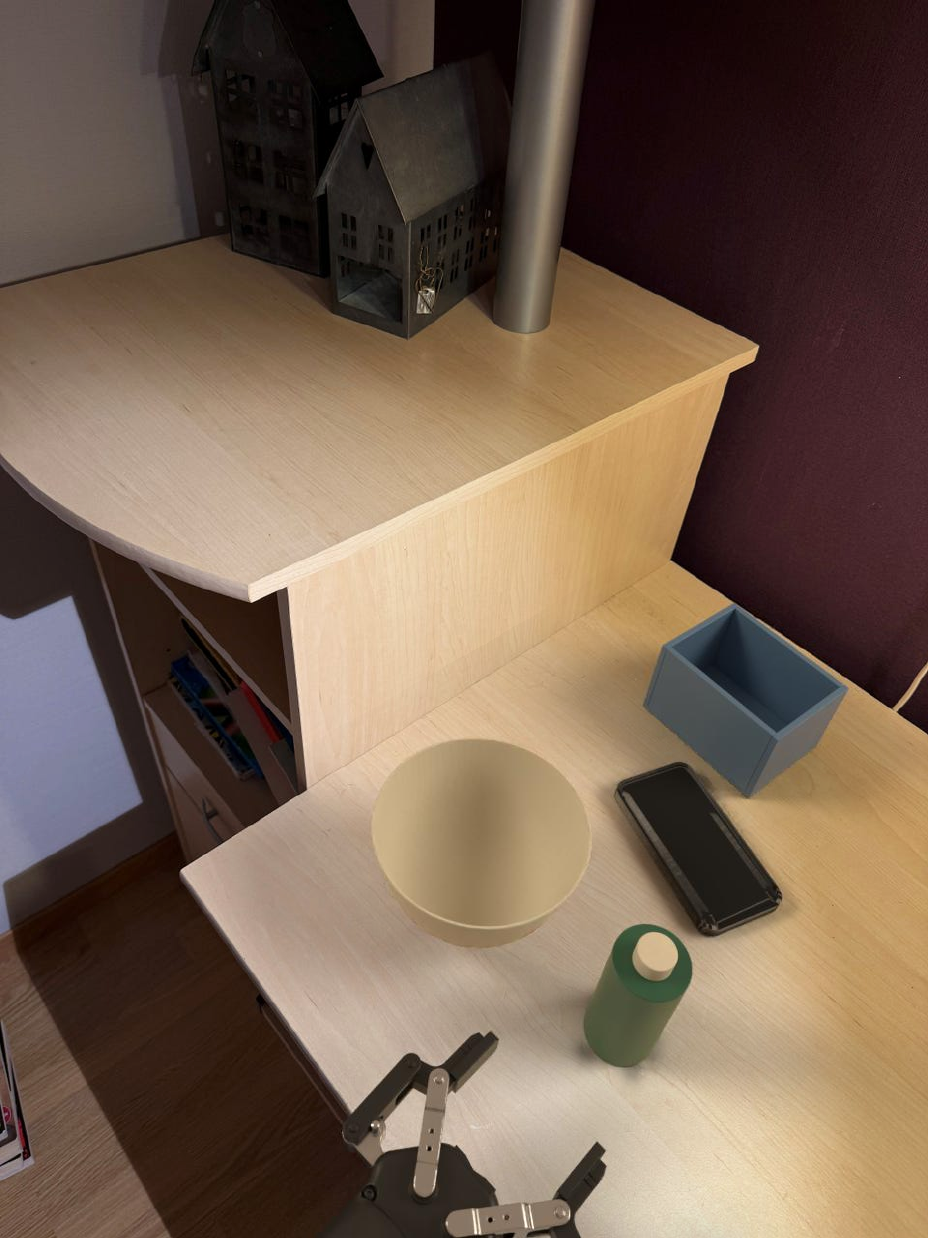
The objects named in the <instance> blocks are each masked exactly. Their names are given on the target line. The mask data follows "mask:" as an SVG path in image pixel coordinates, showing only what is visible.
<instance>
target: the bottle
mask: <svg viewBox="0 0 928 1238" xmlns="http://www.w3.org/2000/svg"><path fill="white" fill-rule="evenodd" d="M684 944H685V943H684V942H682V941H681V939H680V938H679V937H678V936H677V935H675V934H674V933H673V932H672V931H670V930H668V929H667V928H664V927H662V926H659V925H656V924H652V923H651V924H650V923H640V924H634V925H632V926H629V927H627V928H626V929H624V930H623V931H622V932H621V933H620V934H619V935H618V936H617V938H616V939H615V941H614V943H613V945H612V948H611V950H610V953H609V954H608V957H607V960H606V962H605V965H604V967H603V969H602V972H601V975H600V977H599V979H598V982H597V984H596V986H595V989H594V991H593V993H592V996H591V999H590V1001H589V1003H588V1006H587V1009H586V1011H585V1012H584V1013H585V1014H584V1017H583V1033H584V1037H585V1039H586V1042H587V1044H588V1046H589V1047H590V1049H591V1051H593V1053H594V1054H595V1055H596V1056H597V1057H598V1058H599V1059H600V1060H603V1061H604V1062H606V1063H608V1064H610V1065H612V1066H616V1067H621V1068H622V1067H623V1068H627V1067H628V1068H629V1067H634V1066H637V1065H638V1064H640V1063H642V1062H643V1061H644V1060H646V1059H648V1057H649V1055H650V1054H651V1052H652V1051H653V1049H654V1047H655V1046H656V1044H657V1042H658V1040H659V1039H660V1037H661V1035H662V1034H663V1032H664V1030H665V1029H666V1027H667V1025H668V1023H669V1021H670V1020H671V1018H672V1016H673V1015H674V1013H675V1012H676V1009H677V1008H678V1006H679V1004H680V1003H681V1001H682V999H683V997H684V996H685V994H686V992H687V990H688V989H689V987H690V985H691V983H692V979H693V973H694V971H693V969H694V968H693V962H692V958H691V955H690V952H689V951H688V949H687V947H686V945H684Z"/></svg>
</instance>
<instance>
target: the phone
mask: <svg viewBox="0 0 928 1238" xmlns="http://www.w3.org/2000/svg"><path fill="white" fill-rule="evenodd" d="M614 799H615V801H616V803H617V805H618V807H619V808H620V810H621V811H622V812H623V815H624V816H625V817H626V819H627V821H628V822H629V824H630V826H631V827H632V829H633V830H634V832H635V833H636V835H637V836H638V838H639V839H640V841H641V842H642V844H643V845H644V847H645V849H646V850H647V852H648V854H649V856H650V857H651V858H652V860H653V861H654V863H655V865H656V866H657V868H658V870H659V871H660V873H661V874H662V876H663V877H664V879H665V880H666V882H667V883H668V885H669V887H670V888H671V890H672V891H673V893H674V894H675V896H676V897H677V899H678V901H679V902H680V904H681V905H682V908H683V909H684V911H685V912H686V914H687V915H688V917H689V918H690V920H691V921H692V923H693V924H694V926H695V928H696V929H697V930H698V931H699V932H700V933H701V934H702V935H704V936H706V937H711V938H713V937H718V936H720V935H723V934H725V933H727V932H729V931H733V930H734V929H737V928H739V927H742V926H744V925H746V924H749V923H752V922H753V921H756V920H758V919H761V918H763V917H765V916H767V915H770V914H773V913H774V912H776V911H777V909H778V908H779V906H780V905H781V903H782V901H783V897H784V896H783V892H782V891H781V888H780V887H779V886H778V884H777V883H776V882H775V880H774V878H772V876H771V875H770V873H769V872H768V871H767V869H766V868H765V866H764V865H763V863H762V862H761V860H759V858H758V857H757V855H756V854H755V853H754V851H753V850H752V849H751V847H750V846H749V844H748V843H747V842H746V840H745V839H744V837H743V836H742V834H741V833H740V832H739V830H738V829H737V828H736V826H735V825H734V824H733V822H732V821H731V820H730V818H729V817H728V815H727V814H726V813H725V811H724V810H723V808H722V807H721V806H720V805H719V803H718V802H717V800H716V798H714V796H713V795H712V793H711V792H710V791H709V789H708V788H707V786H706V785H705V783H704V782H703V781H702V779H701V778H700V776H699V775H698V774H697V773H696V771H695V769H694V768H693V767H692V766H691V765H690V764H688V763H686V762H683V761H675V762H671V763H669V764H666V765H663V766H660V767H657V768H654V769H651V770H649V771H645V772H642V773H639V774H637V775H633V776H631V777H630V776H629V777H628V778H627V777H626V778H623V779H622V780H620V781H619V782H618V783H617V786H616V789H615V792H614Z"/></svg>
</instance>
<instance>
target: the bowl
mask: <svg viewBox="0 0 928 1238" xmlns="http://www.w3.org/2000/svg"><path fill="white" fill-rule="evenodd" d="M370 823H371V825H370V832H371V833H370V834H371V835H370V836H371V842H372V848H373V851H374V856H375V858H376V862H377V863H378V867H379V869H380V871H381V873H382V876H383V878H384V880H385V882H386V884H387V886H388V889H389V891H390V892H391V894H392V896H393V898H394V900H395V901H396V903H397V904H398V906H399V907H400V908H401V910H402V911H403V912H404V914H405V915H406V916H407V917H408V918H409V919H410V920H411V921H412V922H413V923H414V924H415V925H416V926H418V927H419V928H420V929H422V930H423V931H424V932H426V933H427V934H428V935H430V936H432V937H434V938H436V939H438V940H440V941H441V942H442V941H443V942H445V943H448V944H451V945H455V946H458V947H464V948H469V949H470V948H471V949H489V948H496V947H502V946H505V945H508V944H511V943H514V942H517V941H520V940H521V939H523V938H525V937H527V936H528V935H530V934H532V933H533V932H535V931H536V930H537V929H539V928H541V926H543V925H544V924H545V923H546V922H547V921H548V920H549V919H551V918H552V917H553V916H554V914H555V913H556V912H558V910H559V909H560V908H561V907H562V906H563V905H564V904H565V903H566V902H567V901H568V899H569V898H570V897H571V896H572V895H573V893H574V892H575V891H576V889H577V888H578V886H579V885H580V884H581V881H582V880H583V878H584V875H585V873H586V872H587V868H588V866H589V862H590V859H591V853H592V845H593V843H592V842H593V835H592V826H591V820H590V816H589V812H588V810H587V807H586V805H585V803H584V800H583V799H582V796H581V795H580V793H579V791H578V790H577V789H576V787H575V785H574V784H573V782H571V780H570V779H569V778H568V777H567V776H566V774H565V773H563V771H561V770H560V768H559V767H557V766H556V765H555V764H554V763H552V762H551V761H549V760H548V759H547V758H546V757H544V756H542V755H540V754H539V753H537V752H535V751H534V750H532V749H530V748H528V747H525V746H522V745H520V744H517V743H514V742H511V741H507V740H503V739H499V738H493V737H480V736H476V737H475V736H474V737H473V736H471V737H470V736H469V737H467V736H466V737H458V738H452V739H448V740H447V739H446V740H443V741H439V742H436V743H433V744H431V745H428V746H426V747H424V748H421V749H420V750H418V751H416V752H415V753H413V754H411V755H410V756H408V757H407V758H405V760H404V761H402V762H400V764H399V765H398V766H397V767H396V768H395V769H394V770H393V771H391V773H390V774H389V776H388V777H387V778H386V780H385V781H384V783H383V784H382V785H381V787H380V790H379V792H378V794H377V796H376V799H375V802H374V805H373V808H372V813H371V821H370Z"/></svg>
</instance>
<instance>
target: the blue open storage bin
mask: <svg viewBox="0 0 928 1238" xmlns="http://www.w3.org/2000/svg"><path fill="white" fill-rule="evenodd" d="M658 654H659V655H658V658H657V661H656V664H655V667H654V669H653V673H652V675H651V679H650V682H649V684H648V687H647V691H646V694H645V698H644V700H643V703H642V706H643V708H644V709H646V710H647V711H648V712H649V713H650V714H651V715H652V716H654V717H655V718H656V719H657V720H658V721H659V722H661V723H662V724H663V725H664V726H665V727H666V728H667V729H668V730H669V731H671V732H672V733H673V734H674V735H675V736H676V737H678V738H679V739H680V740H681V741H682V742H683V743H684V744H685V745H687V747H689V748H690V749H691V750H692V751H693V752H694V753H695V754H697V756H699V757H700V758H701V759H702V760H703V761H705V762H706V763H707V764H708V765H709V766H710V767H711V768H712V769H714V770H715V771H716V772H717V773H718V774H719V775H721V776H722V777H723V778H724V779H725V780H726V781H727V782H729V783H730V784H731V785H732V786H733V787H734V788H735V789H736V790H738V791H739V792H740V794H742V796H744V797H745V798H747V799H751V797H753V796H755V795H756V794H757V793H758V792H759V791H760V790H762V789H763V788H764V787H766V786H767V785H769V784H770V783H771V782H772V781H774V780H775V779H776V778H777V777H779V776H780V775H781V774H783V773H784V772H785V771H787V770H788V769H789V768H790V767H792V766H793V765H794V764H796V763H797V762H799V761H800V760H801V759H802V758H804V757H805V756H806V755H807V754H809V753H810V752H811V751H813V750H814V749H815V748H817V747H818V745H819V743H820V741H821V740H822V737H823V736H824V734H825V732H826V730H827V728H828V727H829V725H830V723H831V721H832V720H833V718H834V716H835V715H836V713H837V711H838V709H839V707H840V706H841V704H842V702H843V700H844V699H845V697H846V695H847V693H848V692H849V689H850V687H848V686H847V685H846V684H844V683H843V682H841V681H840V680H839V679H837V678H836V677H835V676H834V675H832V674H831V673H830V672H828V671H827V670H826V669H824V668H822V666H820V665H819V664H817V663H816V662H815V661H813V660H812V659H811V658H810V657H808V656H806V655H805V654H804V653H802V652H801V651H800V650H799V649H797V648H796V647H795V646H793V645H792V644H790V643H789V642H788V641H786V639H784V638H782V637H781V636H779V635H778V634H777V632H774V631H773V630H772V629H770V628H769V627H768V626H766V625H765V624H764V623H762V622H761V621H760V620H758V619H757V618H756V617H754V615H752V614H750V613H749V612H748V611H746V610H745V609H744V608H742V607H741V606H739V605H738V604H737V603H735V602H733V603H731V604H730V605H728V606H726V607H724V608H723V609H721V610H720V611H718V612H715V613H714V614H713V615H710V616H709V617H708V618H706V619H705V620H703V621H701V622H699V623H698V624H696V625H695V626H693V627H691V628H689V629H687V630H686V631H684V632H683V633H681V634H679V635H677V636H676V637H674V638H673V639H671V640H669V641H667V642H666V643H663V644H662V646H661V648H660V652H659V653H658Z"/></svg>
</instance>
